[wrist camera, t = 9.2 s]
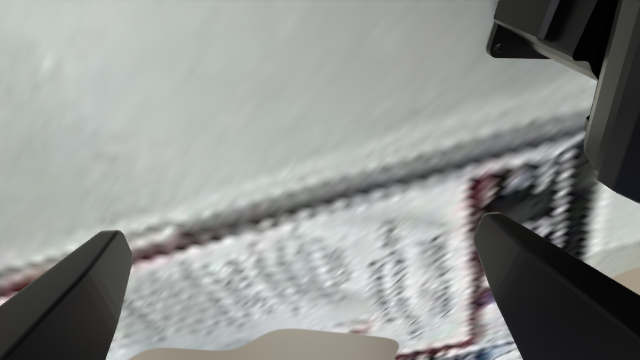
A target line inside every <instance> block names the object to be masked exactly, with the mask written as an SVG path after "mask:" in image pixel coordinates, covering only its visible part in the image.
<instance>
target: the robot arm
mask: <svg viewBox="0 0 640 360" xmlns="http://www.w3.org/2000/svg"><path fill="white" fill-rule="evenodd" d="M494 20H495V22H494V25H493V29H492V32H491V35H490V38H489V41H488V44H487V49H486V51H487V53H488V54H489V55H490V56H492V57H494V58H524V59H553V60H555V61H557V62H559V63H561V64H563V65H565V66H567V67H569V68H571V69H573V70H576V71H578V72H580V73H582V74H584V75H586V76H588V77H590V78H592V79H594V80H596V81H598V83H597V87H596V91H595V96H594V100H593V104H592V108H591V112H590V116H587V117H586V121H585V126H584V129H585V131H586V134H585V138H584V154H585V155H586V157H587V159H588V160H589V162H590V163H591V165H592V166H593V168H594V169H595V170H597V171H596V176H595V177H596V179H597V180H598V181H600V182H601V183H603V184H604V185H606V186H607V187H608V188H610V189H611V190H613V191H614V192H616V193H618V194H620V195H622V196H624V197H626V198H628V199H630V200H632V201H635V202H637V203H639V204H640V0H499V2H498V6H497V9H496V12H495V15H494ZM498 44H500V47H499V49H498V50H497V51H494V48H495V47H496V46H497V45H498ZM474 243H475V246H476V249H477V252H478V255H479V258H480V261H481V263H482V266H483V269H484V272H485V275H486V278H487V280H488V283H489V286H490V289H491V291H492V294H493V297H494V299H495V301H496V303H497V306H498V308H499V310H500V312H501V314H502V316H503V318H504V320H505V322H506V324H507V327H508V329H509V331H510V333H511V335H512V337H513V339H514V341H515V343H516V345H517V348H518V350H519V352H520V354H521V356H522V358H523V360H640V295H638V294H636V293H635V292H633V291H631V290H630V289H628V288H626V287H625V286H623V285H621V284H620V283H618V282H616V281H615V280H613V279H611V278H610V277H608V276H606V275H605V274H603V273H601V272H600V271H598V270H596V269H595V268H593V267H591V266H590V265H588V264H586V263H585V262H583V261H581V260H580V259H578V258H576V257H575V256H573V255H571V254H570V253H568V252H566V251H564V250H563V249H561V248H559V247H558V246H556V245H554V244H553V243H551V242H549V241H548V240H546V239H544V238H543V237H541V236H539V235H538V234H536V233H534V232H533V231H531V230H529V229H528V228H526V227H524V226H523V225H521V224H519V223H518V222H516V221H514V220H513V219H511V218H509V217H508V216H506V215H504V214H502V213H486V214H484V215H483V216H482V218H481V221H480V223H479V226H478V228H477V230H476V233H475V236H474ZM132 260H133V258H132V252H131V250H130V248H129V245H128V243H127V241H126V239H125V236H124V234H123V233H122V232H121V231H119V230H107V231H101V232H99V233H98V234H96V235H95V236H94V237H92V238H91V239H90V240H88V241H87V242H86V243H84V244H83V245H81V246H80V247H79V248H77V249H76V250H75V251H73V252H72V253H71V254H69V255H68V256H67V257H65V258H64V259H63V260H61V261H60V262H59V263H57V264H56V265H55V266H53V267H52V268H51V269H49V270H48V271H46V272H45V273H44V274H42V275H41V276H40V277H38V278H37V279H36V280H34V281H33V282H32V283H30V284H29V285H28V286H26V287H25V288H24V289H22V290H21V291H20V292H18V293H17V294H16V295H14V296H13V297H11V298H10V299H9V300H7V301H6V302H5V303H3V304H2V305H1V306H0V360H105V359H106V356H107V353H108V351H109V348H110V345H111V342H112V339H113V337H114V334H115V331H116V328H117V325H118V321H119V317H120V314H121V309H122V305H123V301H124V296H125V292H126V288H127V283H128V279H129V275H130V270H131V266H132Z"/></svg>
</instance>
